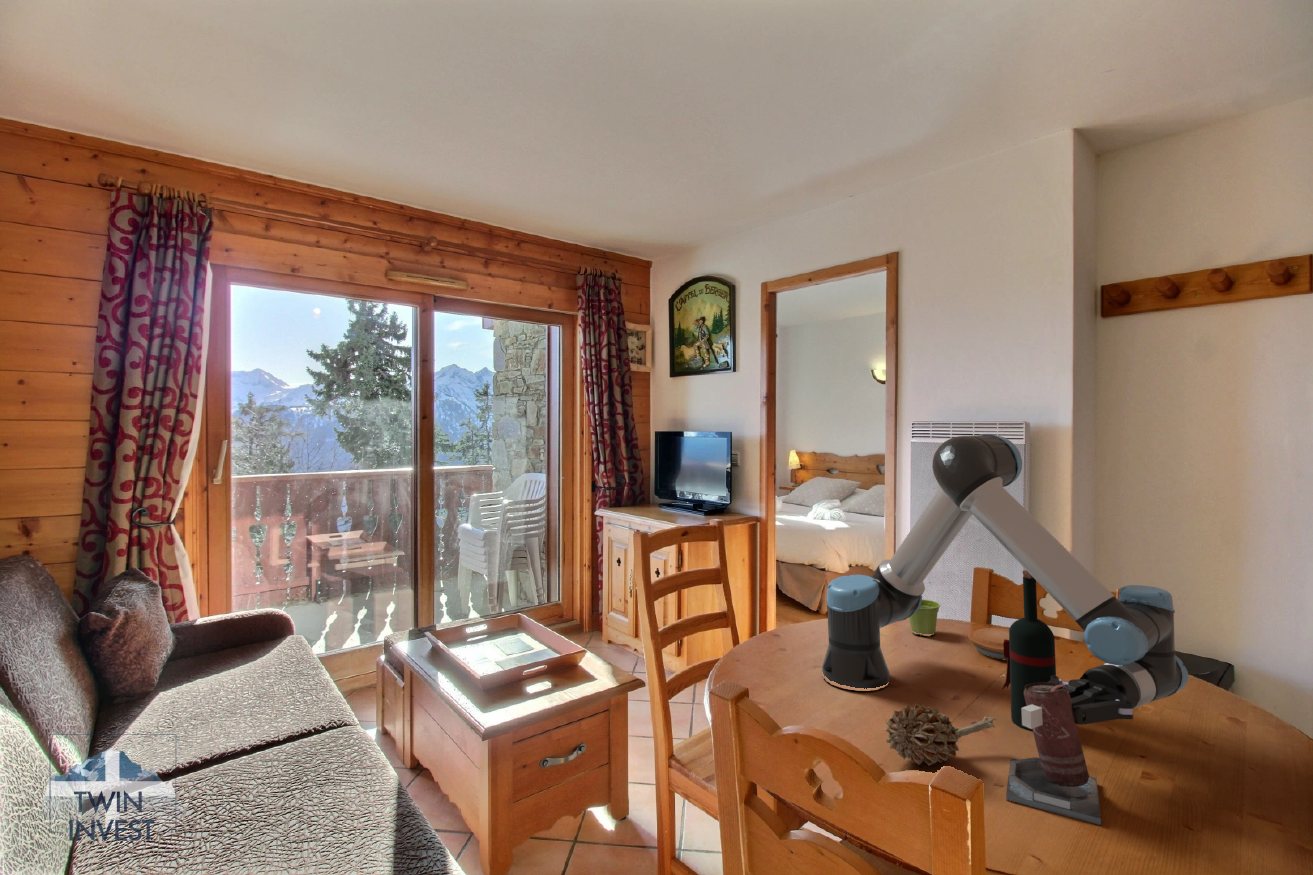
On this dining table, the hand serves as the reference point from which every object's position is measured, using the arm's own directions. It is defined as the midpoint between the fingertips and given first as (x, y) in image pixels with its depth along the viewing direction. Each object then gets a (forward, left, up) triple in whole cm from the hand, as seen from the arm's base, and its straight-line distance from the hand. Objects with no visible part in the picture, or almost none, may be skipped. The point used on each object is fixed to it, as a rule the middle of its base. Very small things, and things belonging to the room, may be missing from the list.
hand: (1026, 718), depth 93 cm
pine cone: (-13, +7, -13) cm, 20 cm away
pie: (-8, +68, -13) cm, 70 cm away
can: (+5, +4, -10) cm, 12 cm away
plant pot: (-28, +74, -13) cm, 80 cm away
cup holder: (+3, +5, -13) cm, 14 cm away
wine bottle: (-1, +30, -13) cm, 33 cm away
